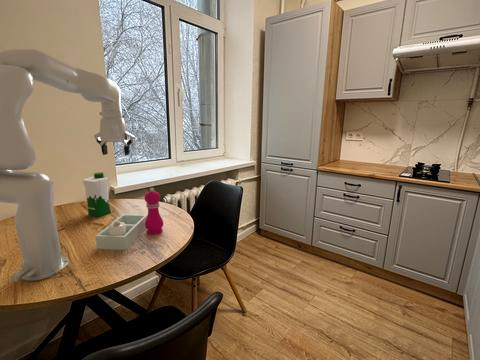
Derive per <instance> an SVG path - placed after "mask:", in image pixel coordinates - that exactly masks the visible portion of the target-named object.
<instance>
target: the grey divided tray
mask: <svg viewBox="0 0 480 360" xmlns="http://www.w3.org/2000/svg"><path fill="white" fill-rule="evenodd" d="M147 215H148V214H126V213H125V214H124V213H123V214H121V215H120V216H119V217H117V218H116V219H115V220H114V221H112V223H114V222H116V221H119V222H123V223H125V227H126V234H125V235H124V236H110V234H109V225H107V226H106V227H105V228H104V229H103V230H101V231H100V232H98V233H97V234H96V235H95V243H96V249H97V250H115V251H116V250H118V251H122V250H123V251H126V250H128V248H129V247H130V246H131V245H132V244H133V243H134V242H135V241H136V240H137V239H138V238H139V237H140V236H141V234H142V233H144V231H145V230H146V227H145V221H146V218H147ZM112 223H110V224H112Z"/></svg>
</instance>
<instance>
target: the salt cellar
mask: <svg viewBox="0 0 480 360" xmlns="http://www.w3.org/2000/svg"><path fill="white" fill-rule="evenodd" d="M113 222H114V221H113ZM113 222H112V224H111V223H110V224H109V225H108V226H109V234H110V236H124V235H125V234H126V227H125V223H123V222H119V221H116V222H114V223H113Z"/></svg>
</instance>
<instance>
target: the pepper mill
mask: <svg viewBox="0 0 480 360" xmlns="http://www.w3.org/2000/svg"><path fill="white" fill-rule="evenodd" d="M143 198H144V201H145V202H146V204H145V205H146V208H147V214H146V215H147V218H146V221H145V227H146V229H147V230H146V229H145V230H146V234H147V235H149V236H156V235H157V236H158V235H160V234H163V232H164V231H163V226H164V219H163V217H162V216H161V215H160V211H159V207H160V200H161V195H160V193H159V192H158V191H155V188H154V187H150V188H149V190H148V191H147V192H146V193H145V194H144V197H143Z"/></svg>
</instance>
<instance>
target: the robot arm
mask: <svg viewBox="0 0 480 360" xmlns="http://www.w3.org/2000/svg"><path fill="white" fill-rule="evenodd" d="M35 82H38V83H41V84H44V85H47V86H50V87H52V88H55V89H58V90H61V91H63V92H67V93H70V94H71V93H73V94H80V95H81V97H82V98H83V99H84V100H86V101H88V102H90V103H91V102H93V103H101V105H100V106H101V111H100V112H99V113H98V114H99V116H101V117H102V118H101V117H100V121H99V132H98V133H96V134H94V136H93V138H94V139H95V141H96V142H97V144H99V146H100V148H101V153H102V156H105V155H108V153H109V151H108V145H107V144H108V143H122V144H123V145H124V146H123V153H124V156H128V155H130V146H131V144H132V143H133V142H134V139H135V135H133V134H131V133H130V132H128V131H127V127H126V123H125V120H124V118H123V114H122V103H121V95H122V94H121V89H120V87H119V86H118V84H117V83H116V82H115V81H113V80H111V79H110V78H108V77H106V76H103V75H100V74H98V73H94V72H91V71H88V70H84V69H81V68H78V67H74V66H71V65H70V64H67V63H65V62H63V61H61V60H60V59H59V60H58V59H57V58H55V57H53V56H51V55H50V54H47V53H46V52H43V51H42V50H37V49H34V48H33V49H31V48H29V49H28V48H26V49H25V48H24V49H23V48H22V49H21V48H20V49H17V48H16V49H15V48H14V49H5V50H1V51H0V203H3V204H4V203H5V204H15V205H18V206H17V210H16V213H15V216H14V225H15V229H16V232H17V238H18V242H19V243H18V244H19V247H20V252H21V256H22V261H23V262H22V263H21V264H20V267H21V268H20V269H19V271H18V272H16V273H15V274H14V275H12V276H10V280H11V281H12V282H13V283H16V282H18V281H19V280H23V281H27V282H33V281H42V280H45V279H48V278H51V277H54V276H56V275H58V274H59V272H60V271H61V270H62V269H64V268H65V267H66V266H68V264H69V258H68V257H66V256H64V255H62V249H61V243H60V238H59V232H58V226H57V221H56V216H55V215H56V214H55V207H54V204H55V203H54V197H55V195H54V194H55V185H54V182H53V181H52V179H51V178H50V176H47V175H46V174H44V173H41V172H38V171H37V172H35V171H23V170H26V169H30V168H32V167H33V166H34V165H35V162H36V159H37V158H36V151H35V149H34V146H33V144H32V141H31V139H30V136H29V133H28V131H27V128H26V125H25V123H24V119H23V109H24V106H25V104H26V103H27V101H28V99H29V98H30V97H31V95H32V93H33V92H34V89H35ZM128 138H129V140H128Z"/></svg>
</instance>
